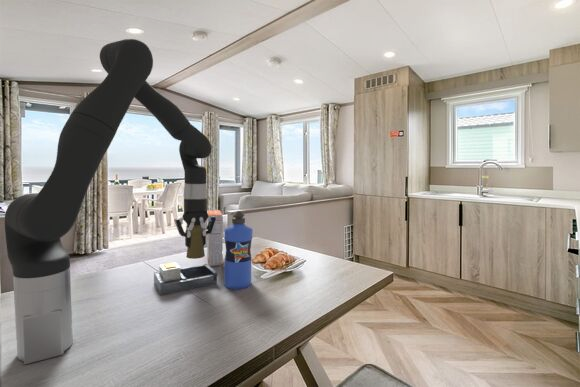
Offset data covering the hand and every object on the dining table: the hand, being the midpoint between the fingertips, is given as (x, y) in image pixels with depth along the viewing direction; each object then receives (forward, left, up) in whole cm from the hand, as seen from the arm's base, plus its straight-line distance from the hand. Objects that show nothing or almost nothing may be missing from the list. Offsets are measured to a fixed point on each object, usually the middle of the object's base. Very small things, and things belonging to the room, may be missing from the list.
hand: (195, 246), depth 102 cm
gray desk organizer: (0, +3, -12) cm, 13 cm away
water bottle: (-9, -12, -13) cm, 19 cm away
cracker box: (+19, -14, -13) cm, 27 cm away
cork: (0, 0, -3) cm, 3 cm away
